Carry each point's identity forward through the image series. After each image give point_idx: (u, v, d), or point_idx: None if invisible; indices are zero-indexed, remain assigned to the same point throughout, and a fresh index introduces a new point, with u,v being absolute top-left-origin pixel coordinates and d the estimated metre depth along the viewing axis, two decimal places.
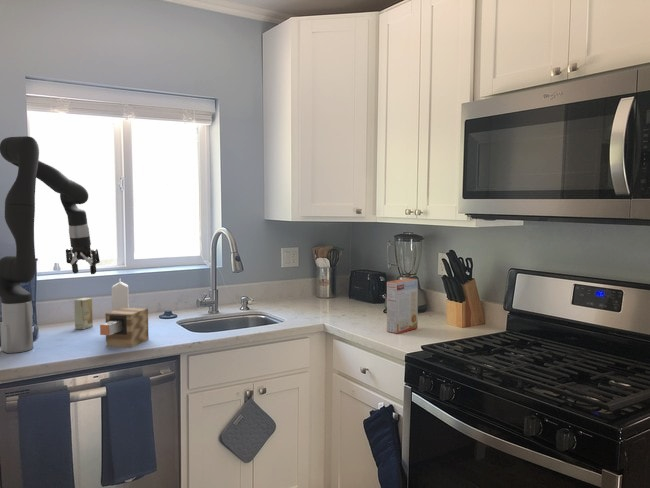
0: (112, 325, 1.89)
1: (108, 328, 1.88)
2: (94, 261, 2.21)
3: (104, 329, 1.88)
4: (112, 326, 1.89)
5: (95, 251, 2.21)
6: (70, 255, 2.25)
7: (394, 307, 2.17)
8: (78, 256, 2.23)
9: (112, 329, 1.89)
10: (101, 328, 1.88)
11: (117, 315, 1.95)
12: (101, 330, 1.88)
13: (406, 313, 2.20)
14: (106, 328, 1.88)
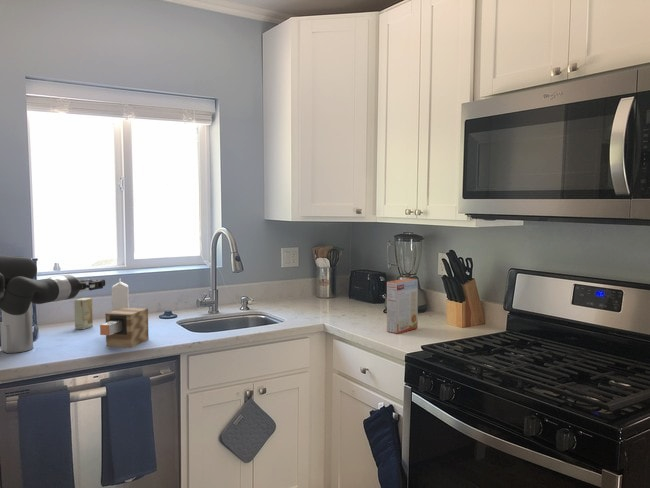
0: (112, 325, 1.89)
1: (108, 328, 1.88)
2: None
3: (104, 329, 1.88)
4: (112, 326, 1.89)
5: None
6: None
7: (394, 307, 2.17)
8: None
9: (112, 329, 1.89)
10: (101, 328, 1.88)
11: (117, 315, 1.95)
12: (101, 330, 1.88)
13: (406, 313, 2.20)
14: (106, 328, 1.88)
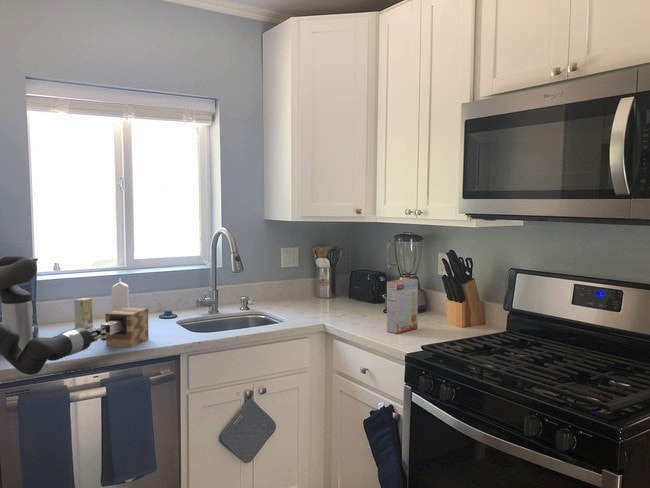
0: (113, 325, 1.90)
1: (109, 328, 1.88)
2: None
3: None
4: (112, 326, 1.89)
5: None
6: None
7: (394, 307, 2.17)
8: None
9: (112, 329, 1.89)
10: None
11: (117, 315, 1.95)
12: None
13: (406, 313, 2.20)
14: (107, 328, 1.88)
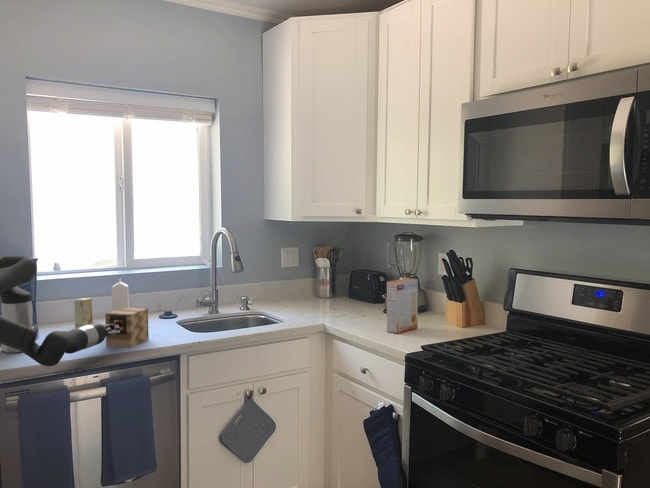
0: None
1: (121, 323, 1.95)
2: None
3: None
4: None
5: None
6: None
7: (394, 307, 2.17)
8: None
9: None
10: None
11: (117, 315, 1.95)
12: None
13: (406, 313, 2.20)
14: None
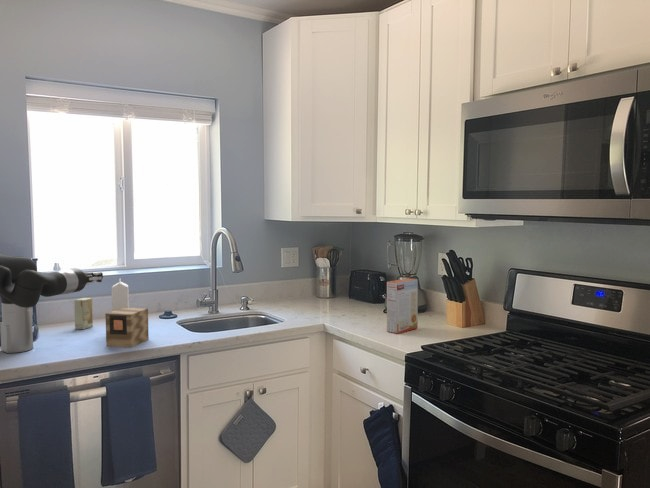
0: None
1: (121, 323, 1.95)
2: None
3: (118, 324, 1.96)
4: None
5: None
6: None
7: (394, 307, 2.17)
8: None
9: None
10: (115, 323, 1.96)
11: (117, 315, 1.95)
12: (115, 325, 1.96)
13: (406, 313, 2.20)
14: (119, 323, 1.95)
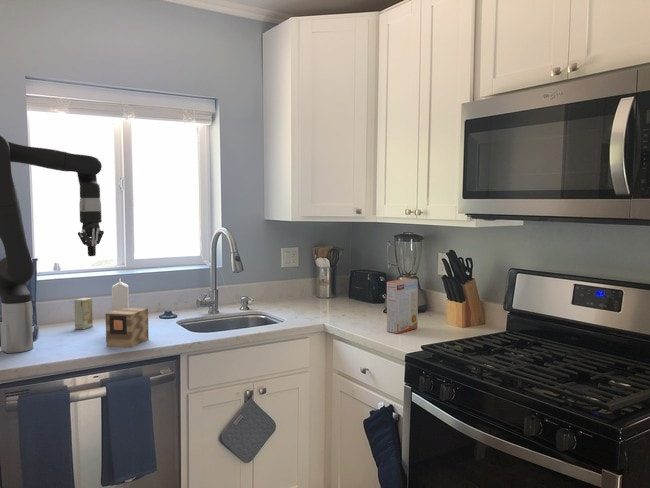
0: None
1: (121, 323, 1.95)
2: None
3: (118, 324, 1.96)
4: None
5: (80, 235, 1.99)
6: None
7: (394, 307, 2.17)
8: None
9: None
10: (115, 323, 1.96)
11: (117, 315, 1.95)
12: (115, 325, 1.96)
13: (406, 313, 2.20)
14: (119, 323, 1.95)
